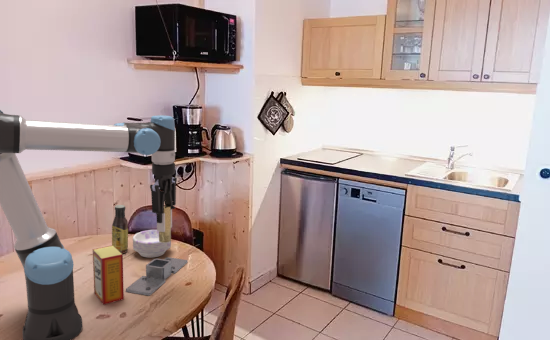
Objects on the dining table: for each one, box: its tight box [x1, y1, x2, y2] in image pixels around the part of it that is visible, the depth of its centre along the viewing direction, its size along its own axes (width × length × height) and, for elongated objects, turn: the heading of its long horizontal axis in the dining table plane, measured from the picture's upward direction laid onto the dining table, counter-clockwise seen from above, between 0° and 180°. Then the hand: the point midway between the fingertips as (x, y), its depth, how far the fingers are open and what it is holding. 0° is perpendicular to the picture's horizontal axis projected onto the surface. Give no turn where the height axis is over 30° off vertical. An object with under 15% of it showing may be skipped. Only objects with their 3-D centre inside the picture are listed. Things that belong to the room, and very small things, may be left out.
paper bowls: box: [132, 229, 172, 259], centre depth 181 cm, size 15×15×8 cm
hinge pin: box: [159, 204, 172, 243], centre depth 150 cm, size 4×4×12 cm
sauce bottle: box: [111, 204, 129, 255], centre depth 180 cm, size 6×6×20 cm
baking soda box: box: [92, 244, 125, 306], centre depth 144 cm, size 10×6×16 cm
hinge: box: [125, 256, 189, 297], centre depth 161 cm, size 29×9×5 cm, turn 166°
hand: (164, 228), depth 151 cm, fingers closed on hinge pin, 4 cm apart
